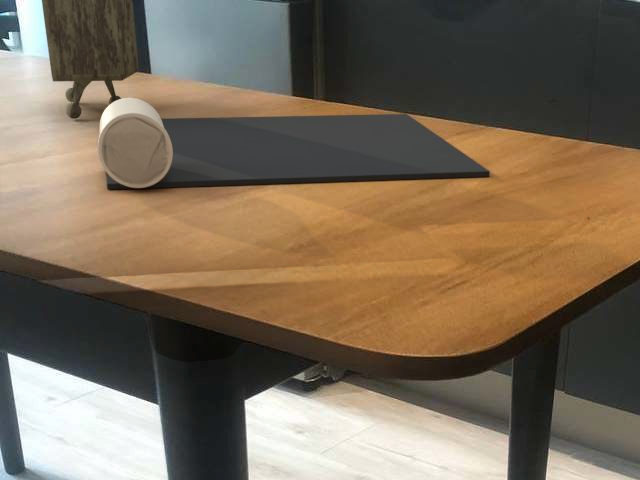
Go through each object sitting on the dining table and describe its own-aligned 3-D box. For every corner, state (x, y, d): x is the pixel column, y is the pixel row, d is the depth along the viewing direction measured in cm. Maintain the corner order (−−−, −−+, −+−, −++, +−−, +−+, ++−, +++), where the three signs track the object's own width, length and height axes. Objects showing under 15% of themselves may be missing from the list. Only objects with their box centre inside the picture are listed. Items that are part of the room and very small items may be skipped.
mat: (107, 189, 91) (106, 183, 91) (100, 124, 116) (100, 119, 116) (489, 176, 100) (490, 171, 99) (406, 118, 124) (406, 113, 124)
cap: (89, 119, 87) (89, 101, 95) (108, 194, 91) (107, 170, 98) (163, 107, 88) (157, 89, 96) (180, 181, 91) (173, 158, 99)
